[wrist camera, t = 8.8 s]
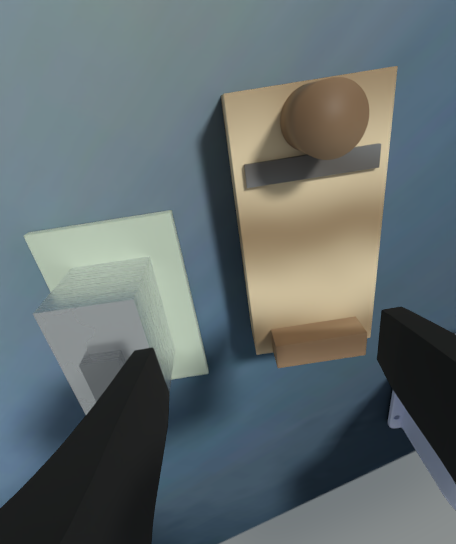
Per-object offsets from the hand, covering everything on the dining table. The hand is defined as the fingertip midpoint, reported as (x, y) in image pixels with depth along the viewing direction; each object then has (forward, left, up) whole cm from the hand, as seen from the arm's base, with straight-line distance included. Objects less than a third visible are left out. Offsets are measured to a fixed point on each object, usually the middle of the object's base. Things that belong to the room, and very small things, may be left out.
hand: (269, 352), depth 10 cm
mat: (-3, +8, -9) cm, 12 cm away
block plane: (+1, -3, -9) cm, 10 cm away
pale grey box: (-3, +8, -9) cm, 12 cm away
